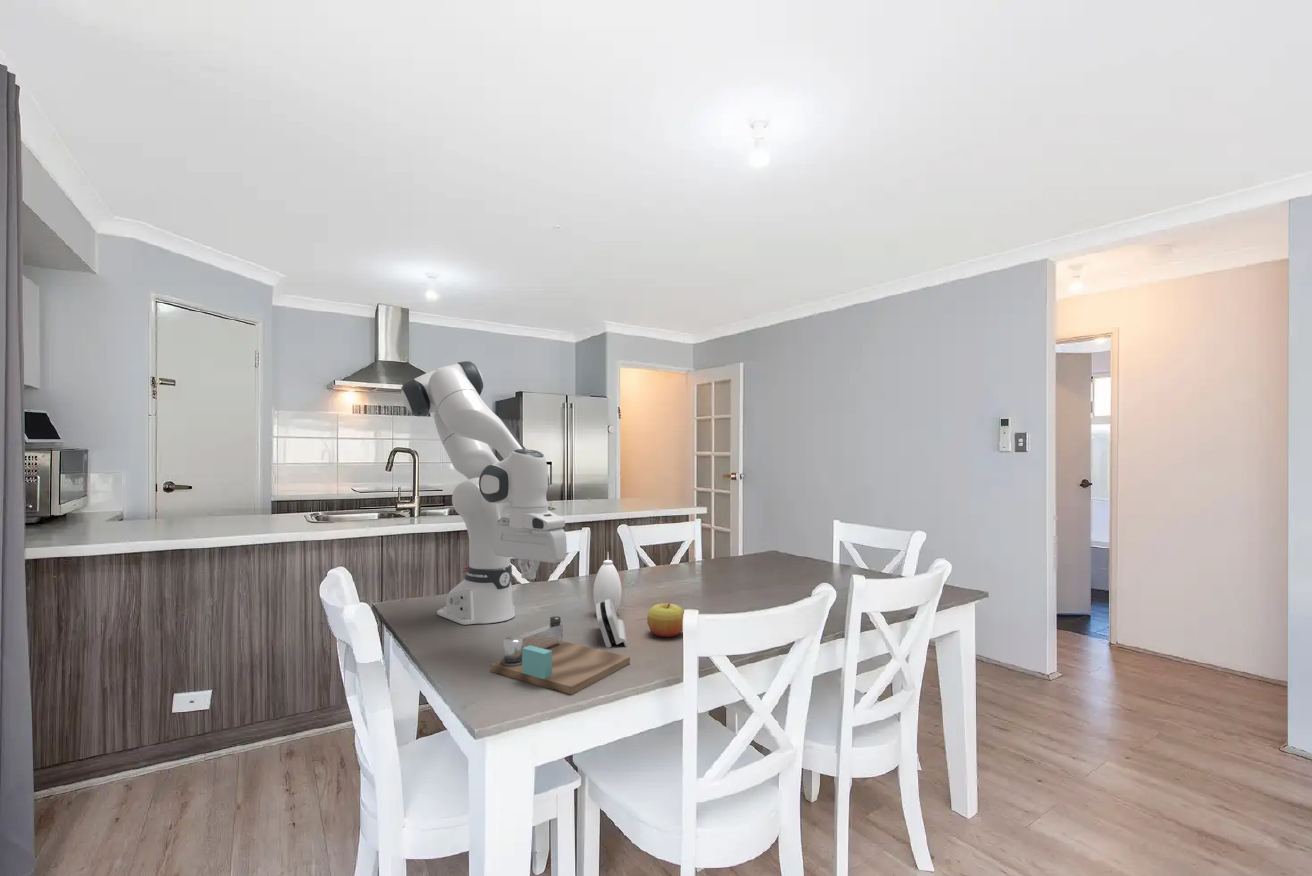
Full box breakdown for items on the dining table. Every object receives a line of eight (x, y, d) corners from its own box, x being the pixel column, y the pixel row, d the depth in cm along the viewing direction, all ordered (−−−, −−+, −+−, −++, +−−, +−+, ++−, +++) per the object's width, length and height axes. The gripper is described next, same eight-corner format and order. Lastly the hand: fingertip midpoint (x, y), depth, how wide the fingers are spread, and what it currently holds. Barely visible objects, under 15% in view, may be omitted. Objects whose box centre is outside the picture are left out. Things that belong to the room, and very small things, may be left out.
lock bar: (513, 663, 127) (513, 636, 127) (499, 659, 129) (499, 633, 129) (565, 641, 141) (566, 617, 141) (552, 638, 143) (553, 614, 143)
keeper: (521, 672, 123) (522, 648, 123) (529, 669, 125) (529, 645, 125) (544, 679, 120) (544, 653, 120) (551, 675, 122) (552, 650, 122)
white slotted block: (627, 647, 144) (613, 607, 144) (608, 654, 144) (595, 614, 144) (625, 626, 161) (612, 591, 161) (608, 632, 161) (595, 597, 161)
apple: (683, 641, 149) (684, 609, 149) (644, 639, 150) (644, 607, 151) (686, 629, 159) (686, 599, 159) (649, 627, 160) (650, 597, 160)
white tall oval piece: (588, 613, 173) (589, 550, 173) (611, 609, 177) (612, 548, 178) (602, 620, 166) (603, 554, 167) (626, 616, 171) (627, 552, 171)
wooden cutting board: (490, 671, 128) (490, 662, 128) (553, 645, 145) (553, 637, 145) (571, 694, 116) (571, 685, 116) (629, 663, 133) (629, 655, 134)
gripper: (487, 517, 144) (486, 576, 144) (552, 522, 133) (552, 585, 133) (506, 515, 149) (506, 571, 149) (570, 520, 139) (570, 580, 138)
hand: (528, 578), depth 141 cm, fingers closed
